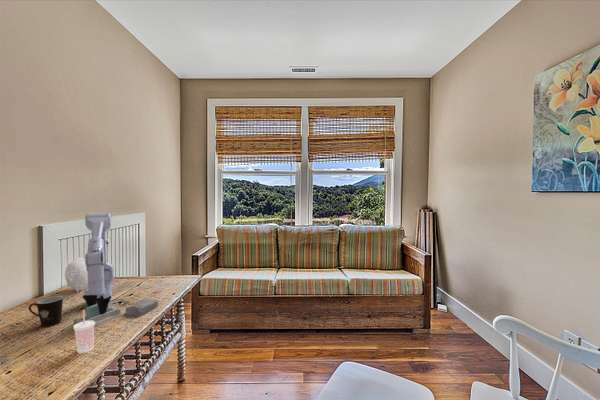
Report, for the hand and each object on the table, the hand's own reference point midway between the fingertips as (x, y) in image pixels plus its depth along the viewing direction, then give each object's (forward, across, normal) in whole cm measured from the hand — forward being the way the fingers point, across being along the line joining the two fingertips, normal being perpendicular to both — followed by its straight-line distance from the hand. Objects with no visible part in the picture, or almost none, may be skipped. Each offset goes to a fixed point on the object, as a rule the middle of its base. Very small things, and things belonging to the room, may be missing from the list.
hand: (97, 312), depth 130 cm
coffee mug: (+4, -16, -10) cm, 20 cm away
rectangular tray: (+4, 0, 0) cm, 4 cm away
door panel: (+3, 0, 0) cm, 3 cm away
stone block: (+4, +6, +15) cm, 17 cm away
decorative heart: (+4, -50, +18) cm, 53 cm away
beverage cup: (+4, +20, -16) cm, 26 cm away
